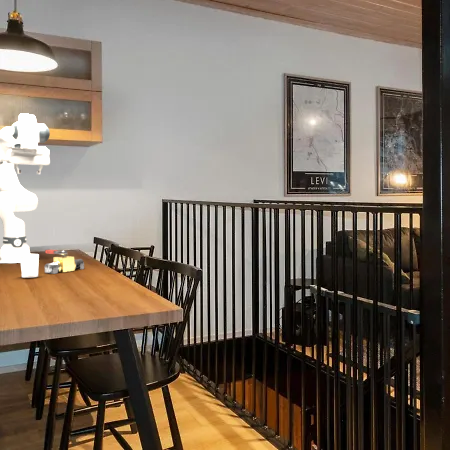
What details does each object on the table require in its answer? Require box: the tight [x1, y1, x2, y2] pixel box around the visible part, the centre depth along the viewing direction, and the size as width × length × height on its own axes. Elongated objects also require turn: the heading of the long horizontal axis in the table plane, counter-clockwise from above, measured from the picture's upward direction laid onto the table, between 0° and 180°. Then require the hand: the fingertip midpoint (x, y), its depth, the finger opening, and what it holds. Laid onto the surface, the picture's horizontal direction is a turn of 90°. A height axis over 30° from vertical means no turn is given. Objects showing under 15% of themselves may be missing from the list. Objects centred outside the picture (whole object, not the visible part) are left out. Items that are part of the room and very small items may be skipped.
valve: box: [44, 255, 85, 275], centre depth 232 cm, size 20×7×8 cm, turn 148°
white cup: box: [20, 253, 40, 279], centre depth 215 cm, size 8×8×10 cm
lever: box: [44, 249, 68, 256], centre depth 234 cm, size 14×3×2 cm, turn 58°
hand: (28, 173), depth 238 cm, fingers open, 8 cm apart
